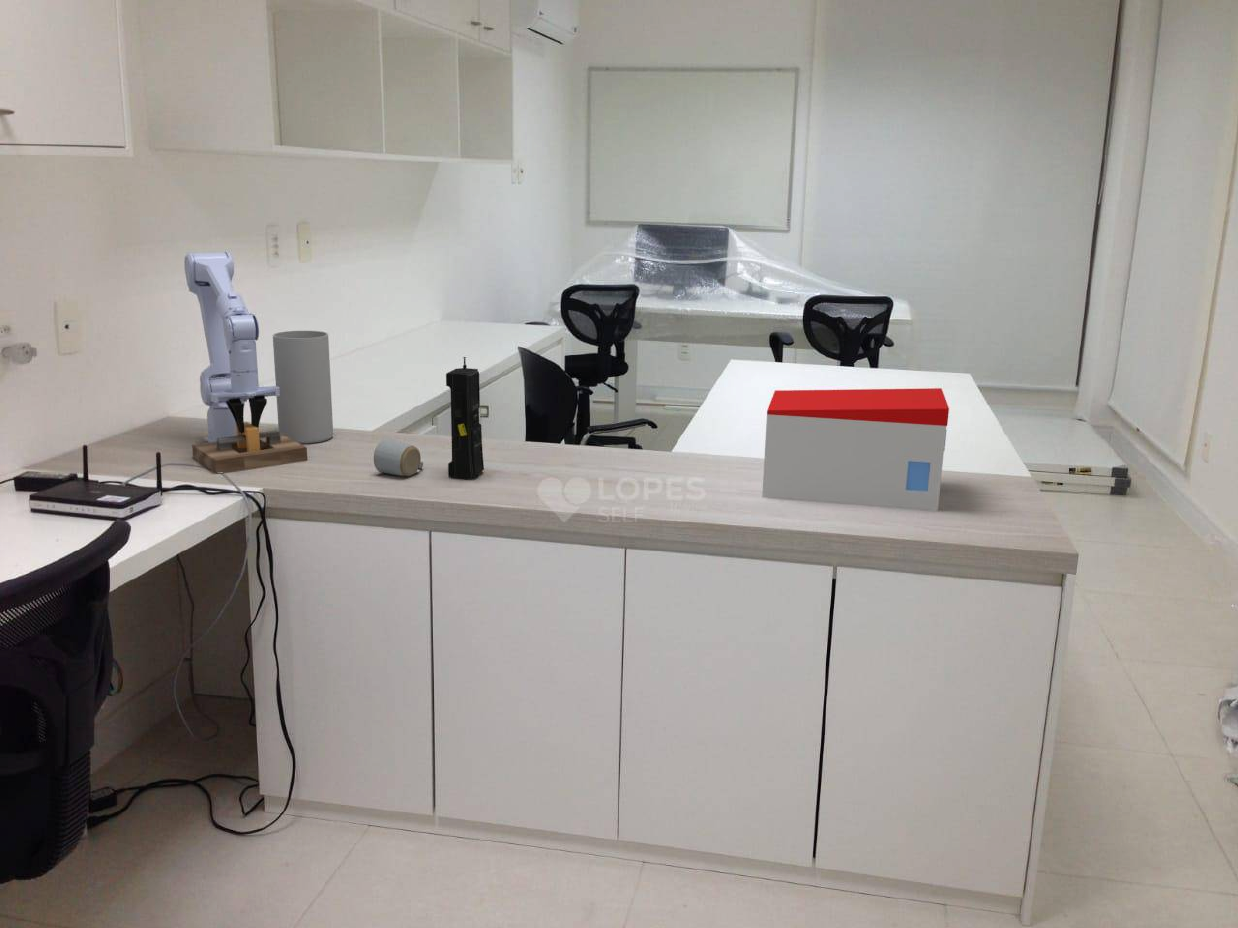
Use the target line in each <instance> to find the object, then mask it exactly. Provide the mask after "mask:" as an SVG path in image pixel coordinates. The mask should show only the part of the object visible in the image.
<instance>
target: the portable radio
mask: <svg viewBox="0 0 1238 928" xmlns="http://www.w3.org/2000/svg"><path fill="white" fill-rule="evenodd" d="M462 357H463V365H462V367H461V368H455V369H452V370H451V371H449V372H446V374H445V386H446V387H449V389H450V420H451V421H450V423H451V424H450V427H451V430H450V431H451V461H450V462H448V464H447V471H448V472H447V473H448V475H447V476H448V478H450V479H451V478H452V479H459V480H460V479H461V480H469V481H470V480H474V479H475V478H476V477H478V476H479V475H480V474H481V473H482V472H483V471H484V470H485V466H484V465H485V464H484V454H483V452H484V451H483V436H482V433H483V432H482V424H481V423H480V407H481V403H480V402H481V401H480V398H481V397H480V396H481V395H480V372H479V369H478V368H468V367H467V363H466V358H467V357H466V356H462Z"/></svg>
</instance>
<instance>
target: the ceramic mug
mask: <svg viewBox="0 0 1238 928" xmlns="http://www.w3.org/2000/svg"><path fill="white" fill-rule="evenodd" d="M421 458H422V457H421V451H420V450H419V448H417V447H416V446H414V445H413V444H409V443H406V442H402V441H398V440H395V439H391V438H383V439H382V440H380V441H379V442H378V444H377V445H376V446H375V450H374V453H373V463H374V465H373V466H374V467H375V470H377V471H378V472H380V473H384V474H386V475H387V474H389V475H393V476H398V477H399V476H400V477H405V478H406V477H411V476H413V475H414V474H416V473H417V471H418V470H422V469H423V467H424V462H423V461H421V460H422V459H421Z"/></svg>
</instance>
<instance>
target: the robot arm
mask: <svg viewBox="0 0 1238 928" xmlns="http://www.w3.org/2000/svg"><path fill="white" fill-rule="evenodd" d="M183 263H184V273H185V279H186V285H187V287H188V291H189V292H191V293H193V294H195V295H196V296H197V299H198V303H199V307H200V314H201V320H202V324H203V331H204V335H205V336H204V337H205V342H206V346H207V347H206V348H207V352H208V359H209V365H208V366H207V367H206V368H205V369H204V370H202V372H201V374H200V376H199V382H200V385H199V386H200V387H199V388H200V395H201V396H200V397H201V399H202V402H203V404H204V405H206V406H207V407H208V409H207V410H206V420H207V432H208V433H207V434H208V437H204V440H205V441H206V442H207V443H208V442H215V441H217V438H223V437H230V436H237V434H236V424H237V428H238V431H239V432H240V433H244V421H245V420H244V411H245V403H246V402H247V401H248V404H249V410H250V419H251V420H250V424H251V425H253V426H255V427H257V428H259V429H260V422H261V418H262V415H263V412H264V409H265V408H266V406H267V404H268V402H267V401H268V400H267V397H277V396H280V391H279V387H277V386H276V385H274V386H271V385H270V386H260V385H259V371H258V370H259V369H258V367H259V366H258V356H257V354H258V353H257V352H258V351H257V343H256V341H258V340H259V336H260V327H259V326H260V325H259V321H258V318H257V316H256V314H255V313H252V311H249V310H248V308H247V306H246V304H245V302H244V300H243V299H244V298H243V297H242V295H241V294H240V293H239V292H236V291H234V287H233V283H232V281H233V276H234V274H235V263H234V260H233V256H232V254H231V253H230V252H228V251H224V252H198V253H197V252H194V253H192V252H187V254H185V256H184V261H183Z"/></svg>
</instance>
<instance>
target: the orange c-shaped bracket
mask: <svg viewBox="0 0 1238 928" xmlns="http://www.w3.org/2000/svg"><path fill="white" fill-rule="evenodd" d="M259 433H260V427H259V428H257V427H255V426H253V425H251V423H249V422H248V421H247V422H244V433H240V432H239V431H238V428H237V424H236V434H237V436H238V435H246V440H241V441H237V447H238V448H247V452H252V451H259V450H260V440H259Z"/></svg>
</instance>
